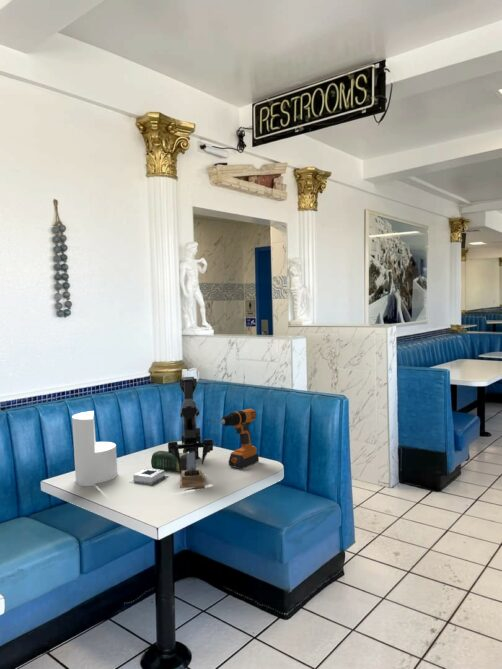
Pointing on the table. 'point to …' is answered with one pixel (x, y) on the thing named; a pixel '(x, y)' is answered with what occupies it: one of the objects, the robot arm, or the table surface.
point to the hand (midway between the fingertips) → (191, 464)
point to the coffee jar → (168, 461)
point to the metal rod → (191, 463)
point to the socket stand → (149, 477)
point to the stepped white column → (91, 452)
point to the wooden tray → (192, 480)
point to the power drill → (242, 438)
